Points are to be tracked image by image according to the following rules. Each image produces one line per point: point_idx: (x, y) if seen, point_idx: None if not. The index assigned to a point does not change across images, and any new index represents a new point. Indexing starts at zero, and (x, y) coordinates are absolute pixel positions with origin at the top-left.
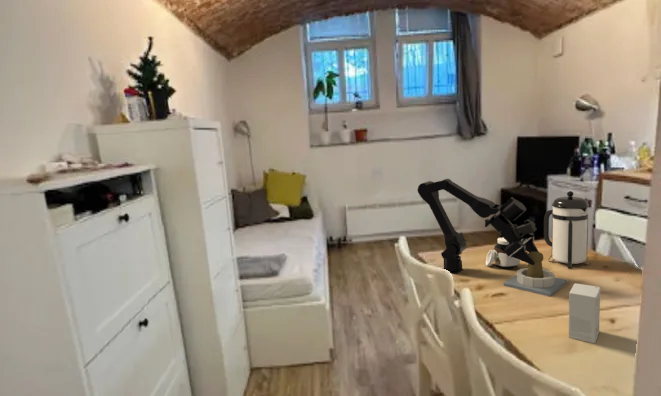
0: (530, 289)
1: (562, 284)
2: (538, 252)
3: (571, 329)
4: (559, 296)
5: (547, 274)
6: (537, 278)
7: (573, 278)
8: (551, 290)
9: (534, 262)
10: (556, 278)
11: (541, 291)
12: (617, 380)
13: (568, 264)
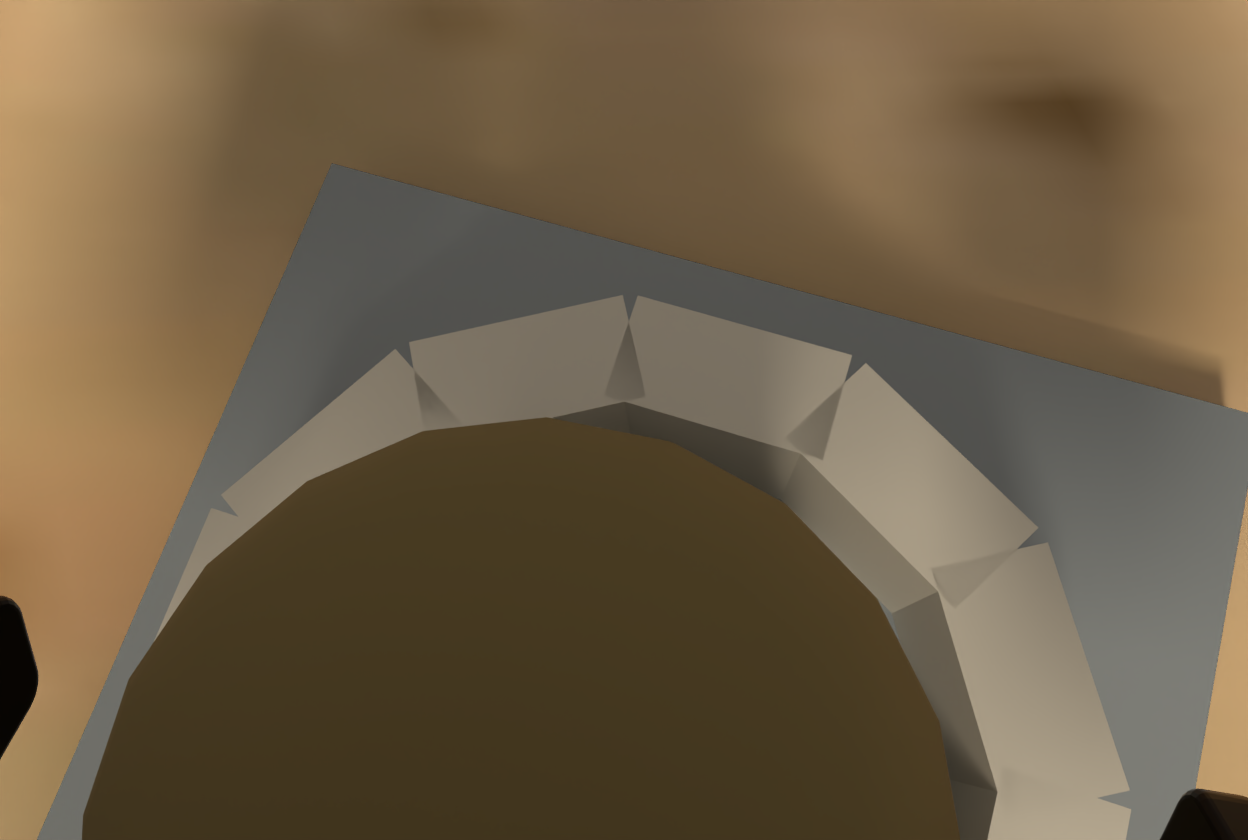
0: None
1: (593, 239)
2: (450, 654)
3: None
4: (1134, 284)
5: None
6: (1012, 684)
7: (102, 110)
8: (1063, 402)
9: (1238, 818)
10: (303, 347)
11: (1222, 586)
12: None
13: None
